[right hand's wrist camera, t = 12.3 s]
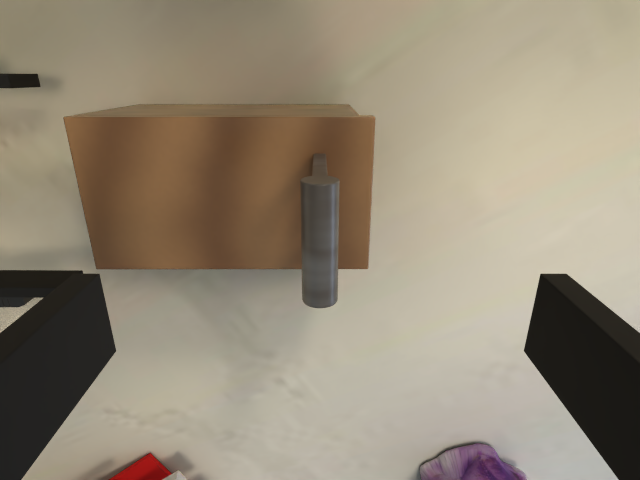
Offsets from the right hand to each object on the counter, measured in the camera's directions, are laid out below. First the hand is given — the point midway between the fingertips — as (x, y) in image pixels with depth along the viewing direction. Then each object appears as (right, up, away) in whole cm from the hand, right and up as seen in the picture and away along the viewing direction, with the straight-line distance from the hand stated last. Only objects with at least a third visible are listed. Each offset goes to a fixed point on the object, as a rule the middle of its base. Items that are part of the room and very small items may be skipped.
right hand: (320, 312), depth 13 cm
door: (-5, +5, +12) cm, 14 cm away
